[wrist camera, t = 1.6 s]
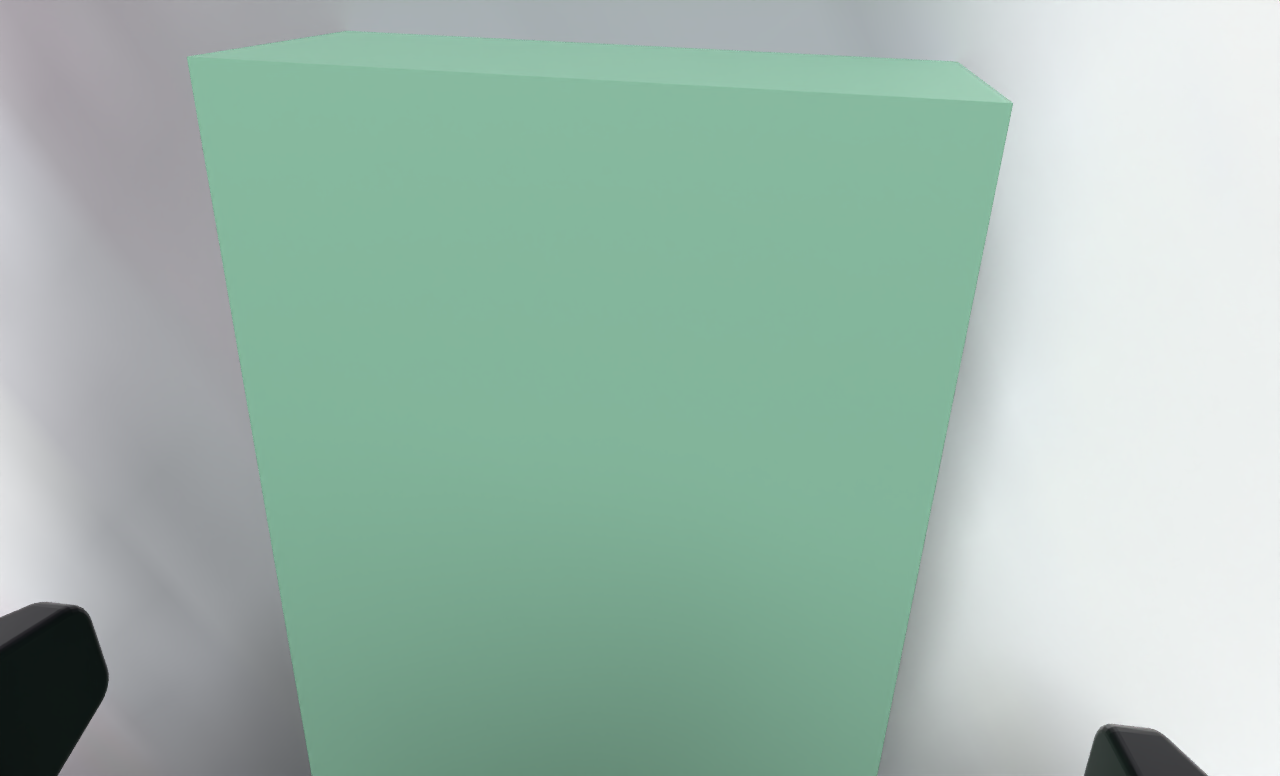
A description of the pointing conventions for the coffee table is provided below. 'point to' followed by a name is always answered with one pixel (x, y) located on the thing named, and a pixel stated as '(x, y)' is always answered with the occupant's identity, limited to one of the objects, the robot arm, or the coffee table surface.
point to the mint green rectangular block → (596, 388)
